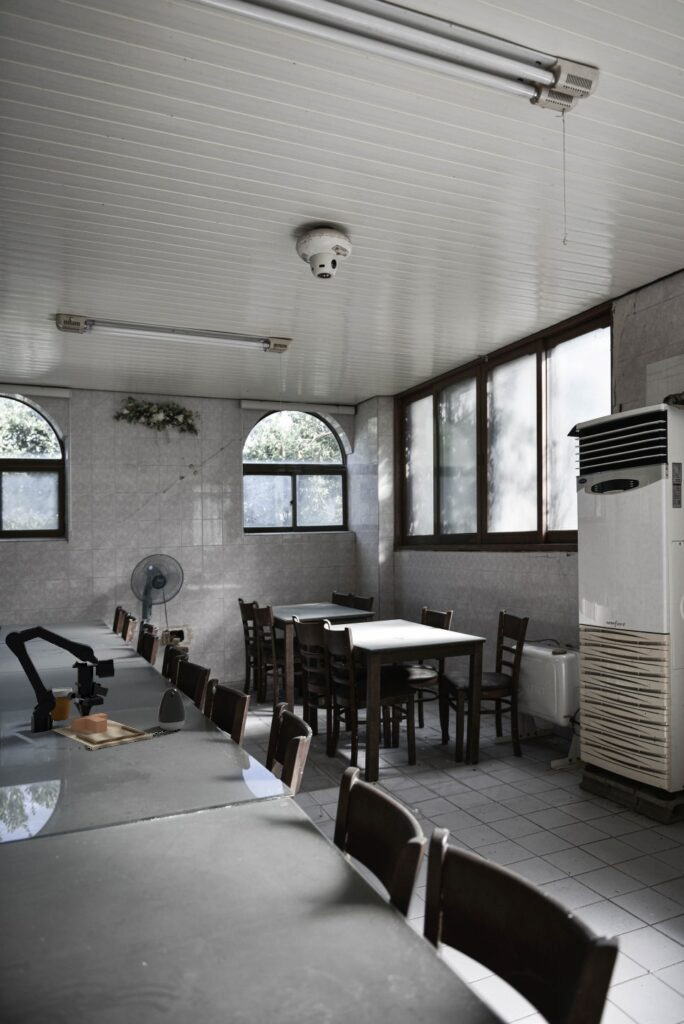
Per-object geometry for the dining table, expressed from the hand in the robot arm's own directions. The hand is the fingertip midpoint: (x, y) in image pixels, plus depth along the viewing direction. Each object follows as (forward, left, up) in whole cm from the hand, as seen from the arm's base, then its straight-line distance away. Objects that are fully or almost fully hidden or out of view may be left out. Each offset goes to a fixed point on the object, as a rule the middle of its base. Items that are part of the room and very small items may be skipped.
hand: (85, 721), depth 270 cm
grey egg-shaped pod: (+22, -25, -3) cm, 33 cm away
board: (0, -14, -3) cm, 14 cm away
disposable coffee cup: (-1, +20, -3) cm, 21 cm away
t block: (0, -8, -2) cm, 8 cm away
